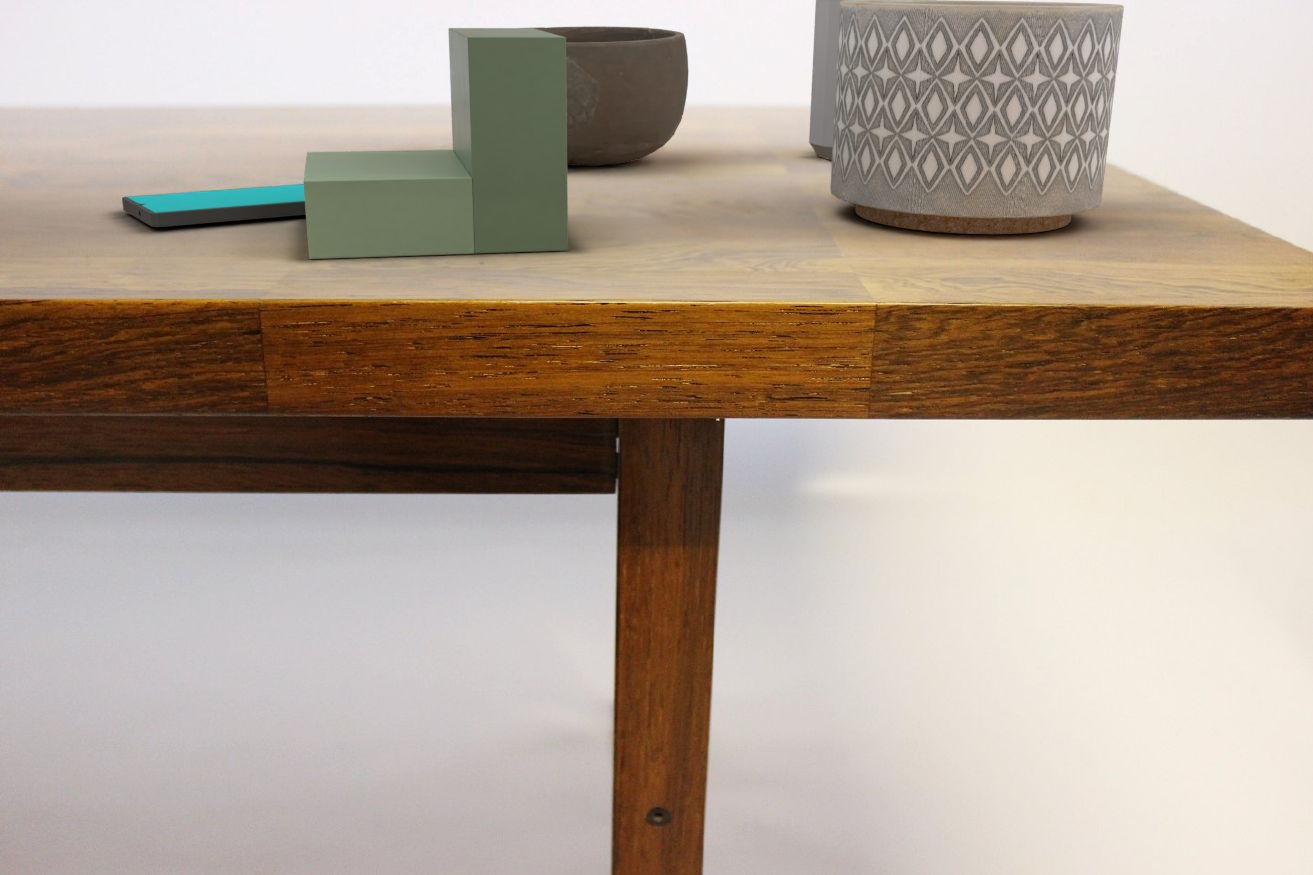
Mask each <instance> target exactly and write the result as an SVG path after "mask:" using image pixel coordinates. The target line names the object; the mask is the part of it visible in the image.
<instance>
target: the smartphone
mask: <svg viewBox="0 0 1313 875" xmlns="http://www.w3.org/2000/svg"><path fill="white" fill-rule="evenodd" d="M121 199H122V210H123V211H124V212H126V213H128V214H129V215H130V216H133V217H134V218H136V219H138V220H140V221H141V222H143V223H144V224H147V225H149V226H150V227H152V228H153V227H154V228H163V227H164V228H165V227H166V228H167V227H178V226H189V225H191V226H192V225H198V224H199V225H200V224H210V223H211V224H212V223H222V222H235V221H247V220H257V219H268V218H281V217H283V218H284V217H292V216H306V210H305V197H304V183H297V184H284V185H283V184H282V185H270V186H269V185H267V186H254V187H241V188H227V189H215V190H213V189H212V190H199V191H186V192H185V191H184V192H171V193H158V194H144V195H131V196H130V195H129V196H122V197H121Z"/></svg>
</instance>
